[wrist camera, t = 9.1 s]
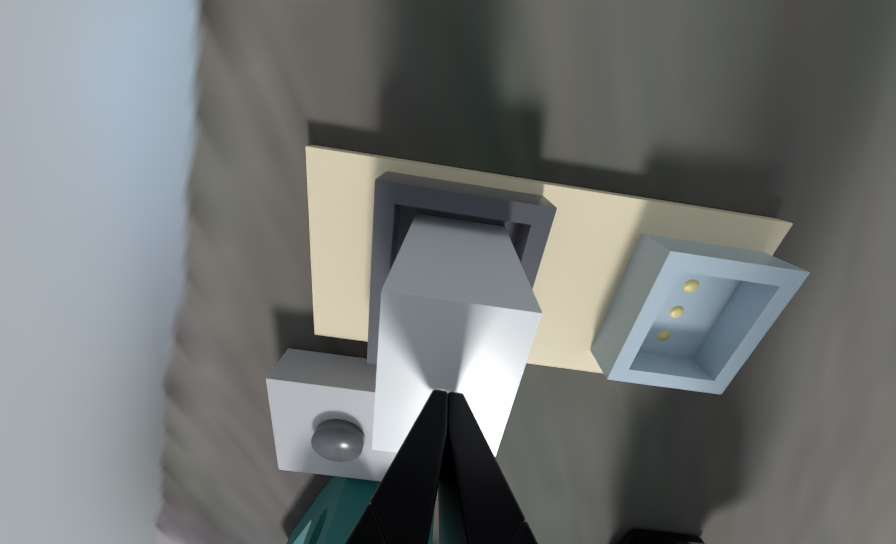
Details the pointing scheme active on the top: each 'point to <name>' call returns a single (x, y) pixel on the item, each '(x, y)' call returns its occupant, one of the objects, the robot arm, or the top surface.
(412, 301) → the plug
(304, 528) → the bracket
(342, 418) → the grey knob block
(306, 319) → the top surface
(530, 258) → the frame
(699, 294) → the header 3pin
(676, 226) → the board
